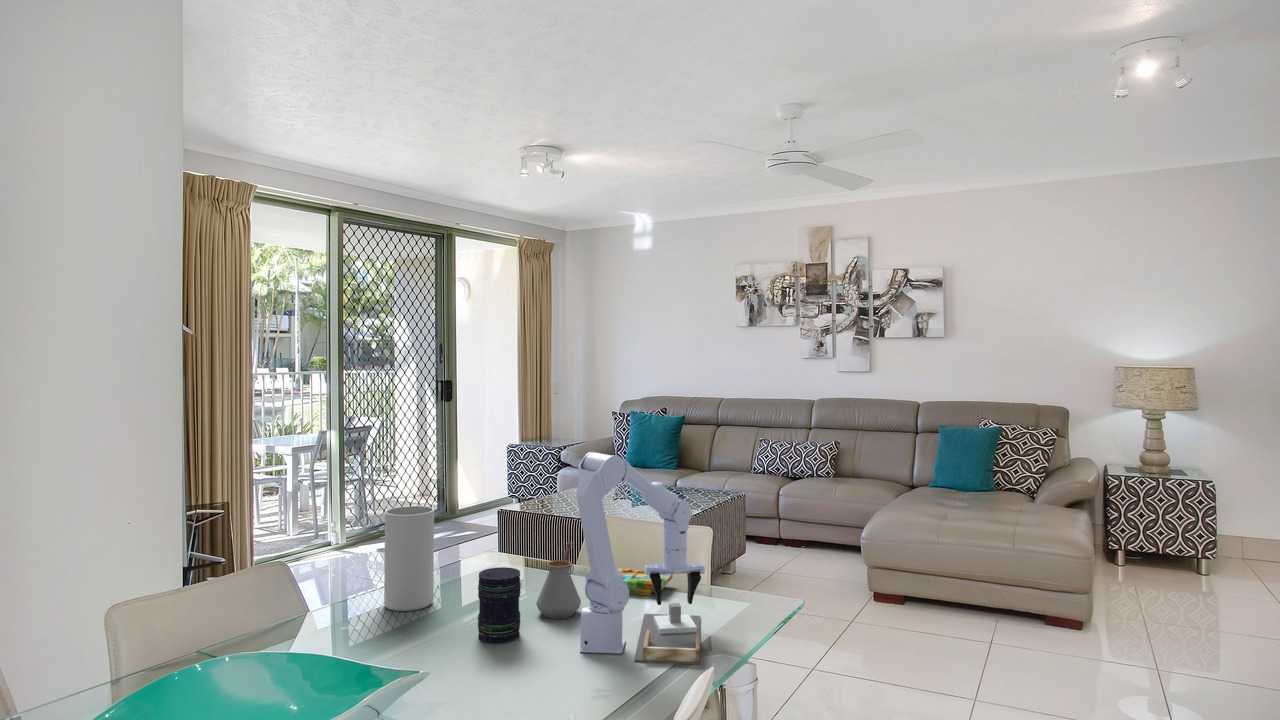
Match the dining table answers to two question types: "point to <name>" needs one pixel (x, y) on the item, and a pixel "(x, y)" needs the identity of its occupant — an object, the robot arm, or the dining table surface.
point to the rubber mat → (665, 639)
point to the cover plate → (676, 626)
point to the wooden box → (671, 651)
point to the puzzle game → (641, 581)
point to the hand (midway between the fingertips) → (674, 603)
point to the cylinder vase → (409, 558)
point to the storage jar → (499, 605)
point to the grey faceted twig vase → (559, 590)
